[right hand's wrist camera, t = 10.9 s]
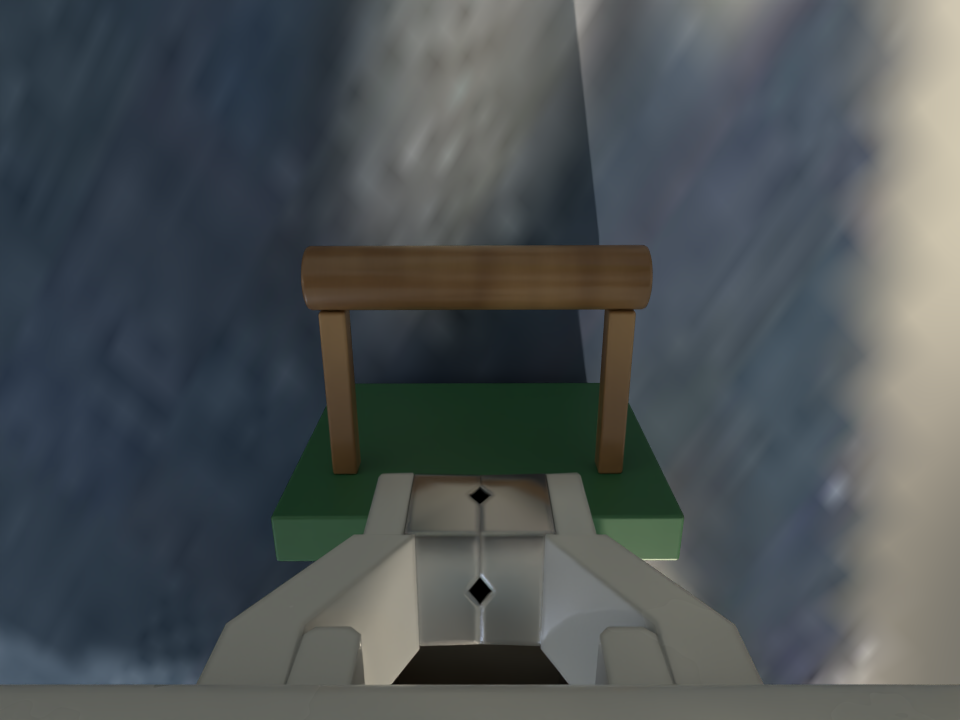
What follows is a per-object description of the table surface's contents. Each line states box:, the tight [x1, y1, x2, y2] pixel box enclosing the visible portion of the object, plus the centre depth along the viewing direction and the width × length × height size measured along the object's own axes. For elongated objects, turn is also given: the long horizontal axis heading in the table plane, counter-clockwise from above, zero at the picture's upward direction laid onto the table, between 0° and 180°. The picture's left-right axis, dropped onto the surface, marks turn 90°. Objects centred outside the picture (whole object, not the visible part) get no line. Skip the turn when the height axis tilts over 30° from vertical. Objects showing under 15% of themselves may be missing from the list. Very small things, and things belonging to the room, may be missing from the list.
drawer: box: [271, 245, 684, 685], centre depth 21 cm, size 26×9×7 cm, turn 0°
